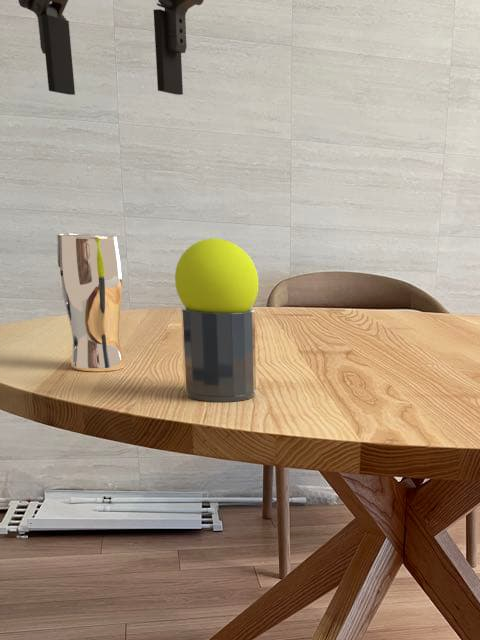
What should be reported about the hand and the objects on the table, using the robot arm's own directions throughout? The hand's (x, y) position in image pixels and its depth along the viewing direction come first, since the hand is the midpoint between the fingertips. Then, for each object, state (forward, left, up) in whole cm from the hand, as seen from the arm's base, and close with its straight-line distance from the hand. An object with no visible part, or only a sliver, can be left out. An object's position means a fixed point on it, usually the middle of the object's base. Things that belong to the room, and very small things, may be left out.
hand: (114, 93), depth 81 cm
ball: (+10, +2, -21) cm, 24 cm away
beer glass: (-10, +5, -29) cm, 31 cm away
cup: (+10, +2, -29) cm, 30 cm away
